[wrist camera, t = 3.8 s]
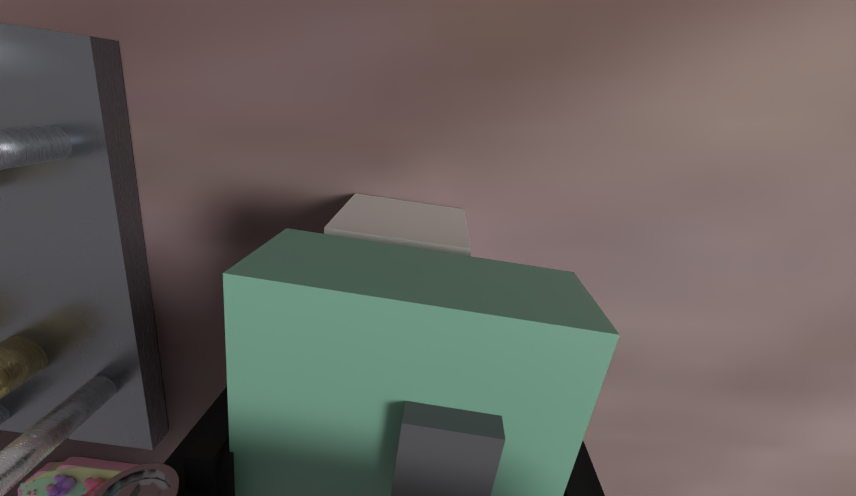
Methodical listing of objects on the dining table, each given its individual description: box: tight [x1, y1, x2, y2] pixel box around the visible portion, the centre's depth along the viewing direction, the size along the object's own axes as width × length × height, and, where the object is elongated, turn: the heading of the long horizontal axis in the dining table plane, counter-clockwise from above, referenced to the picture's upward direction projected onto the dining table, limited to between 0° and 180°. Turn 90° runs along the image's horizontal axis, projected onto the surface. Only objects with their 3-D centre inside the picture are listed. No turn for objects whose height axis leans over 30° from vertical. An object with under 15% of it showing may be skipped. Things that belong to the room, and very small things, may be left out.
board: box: [223, 228, 619, 496], centre depth 8 cm, size 10×6×3 cm, turn 172°
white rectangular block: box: [324, 193, 472, 256], centre depth 13 cm, size 8×4×4 cm, turn 172°
